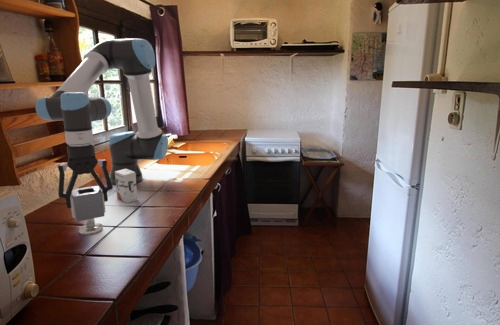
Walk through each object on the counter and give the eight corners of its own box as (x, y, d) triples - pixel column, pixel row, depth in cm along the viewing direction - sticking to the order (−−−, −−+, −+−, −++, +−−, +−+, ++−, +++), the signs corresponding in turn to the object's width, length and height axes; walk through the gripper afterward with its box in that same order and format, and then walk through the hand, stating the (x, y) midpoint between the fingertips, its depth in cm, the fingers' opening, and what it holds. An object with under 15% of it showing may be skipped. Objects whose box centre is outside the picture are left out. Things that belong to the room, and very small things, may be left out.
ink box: (116, 198, 140) (113, 170, 137) (127, 195, 143) (125, 168, 140) (127, 203, 134) (124, 174, 131) (138, 200, 138) (135, 172, 135)
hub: (78, 228, 111) (74, 204, 109) (101, 224, 115) (98, 200, 113) (80, 237, 106) (77, 211, 103) (104, 231, 109) (101, 207, 107)
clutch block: (74, 213, 110) (70, 189, 108) (100, 208, 114) (98, 185, 112) (76, 221, 104) (73, 196, 102) (104, 216, 108) (101, 192, 106)
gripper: (40, 149, 95) (52, 225, 100) (118, 142, 106) (125, 211, 111) (40, 145, 101) (51, 216, 107) (114, 139, 112) (120, 204, 117)
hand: (89, 213), depth 109 cm, fingers closed on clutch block, 8 cm apart
